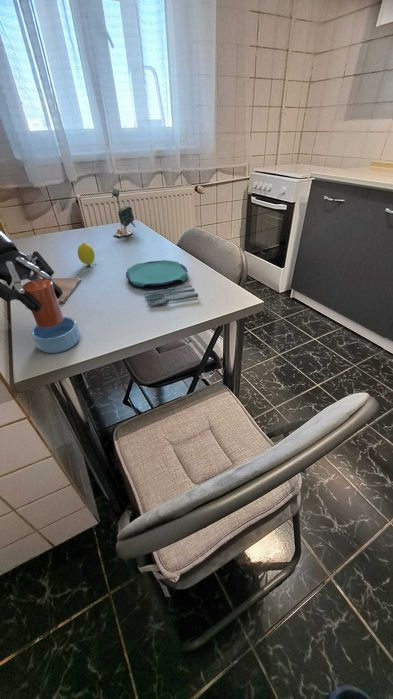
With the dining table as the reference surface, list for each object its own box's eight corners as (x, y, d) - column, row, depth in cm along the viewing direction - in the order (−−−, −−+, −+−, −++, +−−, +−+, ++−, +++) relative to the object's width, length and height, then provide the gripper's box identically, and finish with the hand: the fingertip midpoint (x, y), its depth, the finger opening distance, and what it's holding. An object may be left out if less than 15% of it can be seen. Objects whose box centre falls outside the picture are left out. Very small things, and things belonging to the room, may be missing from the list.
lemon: (94, 268, 104) (88, 245, 99) (78, 268, 104) (72, 245, 99) (98, 262, 108) (93, 240, 104) (84, 262, 109) (78, 240, 104)
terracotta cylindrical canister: (43, 330, 61) (28, 293, 56) (32, 321, 64) (17, 285, 59) (68, 320, 64) (56, 283, 59) (56, 311, 68) (44, 276, 62)
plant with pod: (139, 234, 136) (133, 185, 124) (115, 238, 132) (106, 188, 120) (134, 230, 142) (127, 183, 130) (111, 234, 138) (102, 185, 126)
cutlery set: (178, 262, 106) (178, 256, 105) (205, 299, 83) (205, 291, 82) (123, 270, 102) (122, 264, 100) (135, 311, 79) (134, 303, 77)
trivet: (63, 304, 83) (62, 300, 82) (28, 304, 83) (27, 301, 82) (81, 280, 96) (80, 277, 95) (51, 281, 96) (50, 278, 95)
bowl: (49, 360, 63) (42, 344, 60) (30, 342, 68) (24, 328, 66) (88, 340, 68) (84, 326, 66) (68, 326, 73) (63, 312, 71)
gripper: (-52, 236, 49) (29, 309, 53) (15, 217, 60) (79, 278, 64) (-57, 264, 54) (18, 329, 58) (6, 241, 65) (66, 297, 69)
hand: (50, 302), depth 61 cm, fingers closed on terracotta cylindrical canister, 5 cm apart
